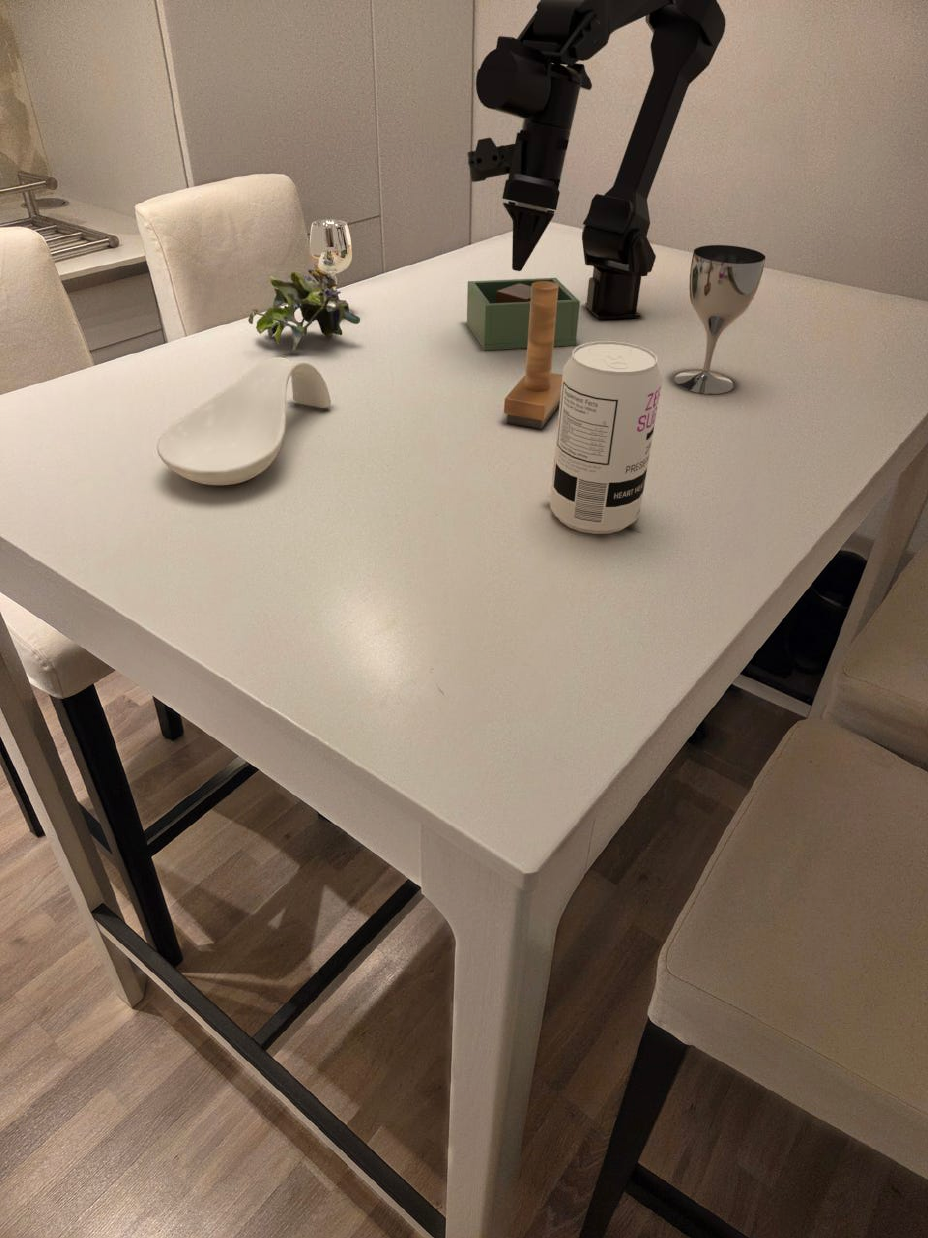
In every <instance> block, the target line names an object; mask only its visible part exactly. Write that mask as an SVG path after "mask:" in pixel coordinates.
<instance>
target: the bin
mask: <svg viewBox="0 0 928 1238" xmlns="http://www.w3.org/2000/svg"><path fill="white" fill-rule="evenodd" d="M538 281H549V282H554V283H556V284H558V286H559V288H558V299H557V311H556V322H555V333H554V345H553V348H555V347H571V346H572V347H573V346H576V344H577V334H578V325H579V316H580V315H579V313H580V305H581V301H580V300H579V299H578V298H577V297H576V296H575V295H574V294H573V293H572V292H571V291H570V290H569V289H568V288H567V287H566V286H565V285H564V284H563V283H562V282H561V281H560V280H559V279H558V278H557V277H542V278H541V277H539V278H514V279H513V278H511V279H492V280H491V279H490V280H489V279H487V280H468V281H467V294H466V295H467V296H466V298H467V299H466V325H467V326H468V328H469V330H470V331H471V333H472V334H473V337H475V339H476V340H477V342H478V343H479V345H480V346H481V348H482V350H483V351H500V350H516V349H517V350H518V349H527V345H528V330H529V316H530V302H513V303H496V292H497V291H498V290H501V289H504V288H507V287H510V286H513V285H516V284H519V283H520V284H524V285H528V286H532V283H534V282H538Z"/></svg>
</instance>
